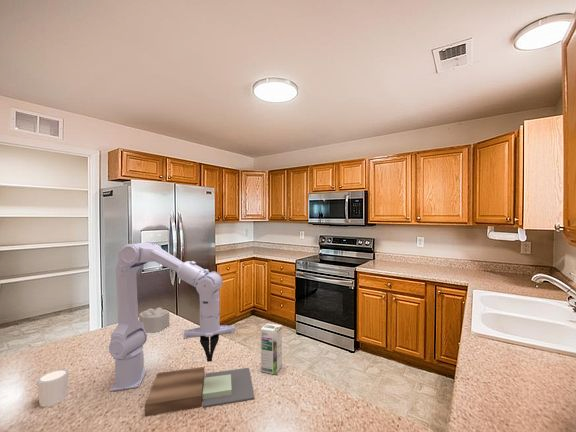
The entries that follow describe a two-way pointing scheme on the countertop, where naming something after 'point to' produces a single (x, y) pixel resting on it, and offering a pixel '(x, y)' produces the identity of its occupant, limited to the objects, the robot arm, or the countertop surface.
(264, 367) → the syrup box
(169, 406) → the walnut board
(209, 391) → the coaster
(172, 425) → the countertop surface
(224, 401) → the rubber mat
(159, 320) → the lumpy-topped squat cylinder
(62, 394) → the white cylinder
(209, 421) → the countertop surface
